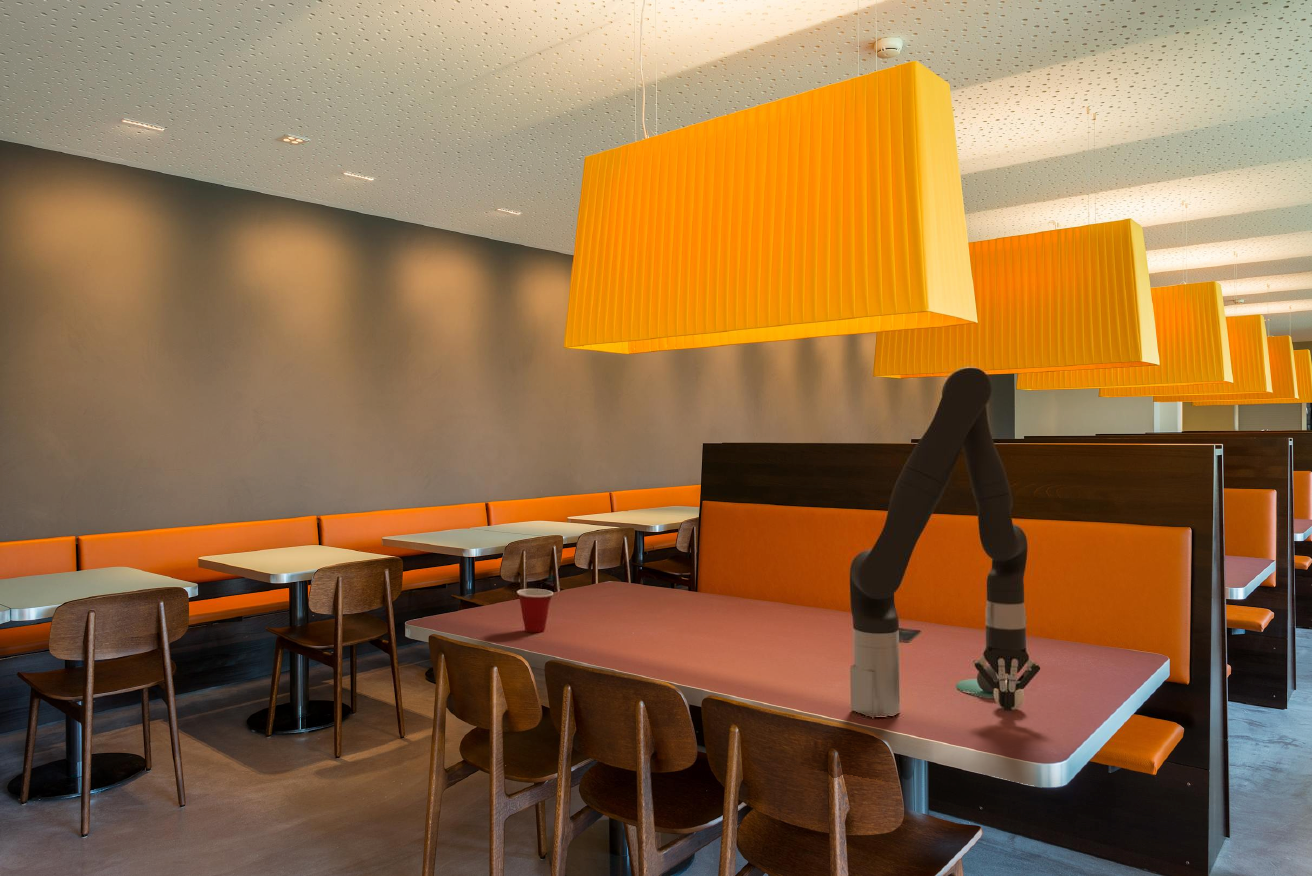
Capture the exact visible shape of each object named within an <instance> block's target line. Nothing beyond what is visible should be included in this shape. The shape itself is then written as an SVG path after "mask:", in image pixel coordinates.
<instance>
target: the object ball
mask: <svg viewBox="0 0 1312 876" xmlns="http://www.w3.org/2000/svg"><path fill="white" fill-rule="evenodd" d="M985 670H986V671H987V672H988V673H989V675H990V676H991V677H992V678H993V679H994V680H996V681H997V676H996V672H995V671H994V670H993V669H992V667H991V666H990V665H987V668H986V669H985ZM976 679H977V683H978V685H979V687H980V688H981V689H982V690H983V691H984V692H986V693H989V694H994V688H992V687H991V686H990V685H989V684H988V682H987V681H986V680H985V679H984V677H983V676H982V675H981V674H980V672H979V671H977V676H976Z"/></svg>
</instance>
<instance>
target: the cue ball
mask: <svg viewBox="0 0 1312 876" xmlns="http://www.w3.org/2000/svg"><path fill="white" fill-rule="evenodd" d="M1006 684H1007V679H1006ZM1006 689H1007V686H1006ZM1025 695H1026V693H1025V691H1024V689H1018V690H1016V691H1015V706H1014V707H1012V710H1011V711H1014V710H1018V709H1020V708H1021V707H1022V706H1023V704H1024V701H1025V698H1026V697H1025ZM994 701H995V702H996V704H997V705H998V706H999V707H1000V708H1002V707H1001V706H1000V704H999V693H998V689H996V688H994Z"/></svg>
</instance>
